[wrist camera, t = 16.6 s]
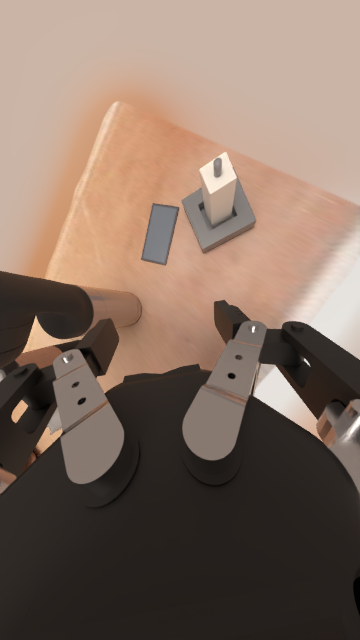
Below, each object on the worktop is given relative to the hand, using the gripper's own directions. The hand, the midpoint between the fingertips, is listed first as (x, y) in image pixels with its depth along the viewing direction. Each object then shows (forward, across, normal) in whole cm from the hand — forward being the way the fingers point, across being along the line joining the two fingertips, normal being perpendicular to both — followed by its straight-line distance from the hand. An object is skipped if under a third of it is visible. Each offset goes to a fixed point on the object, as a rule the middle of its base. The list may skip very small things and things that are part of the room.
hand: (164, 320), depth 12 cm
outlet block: (+32, -14, -8) cm, 36 cm away
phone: (+36, 0, -6) cm, 36 cm away
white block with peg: (+31, -14, -8) cm, 35 cm away
